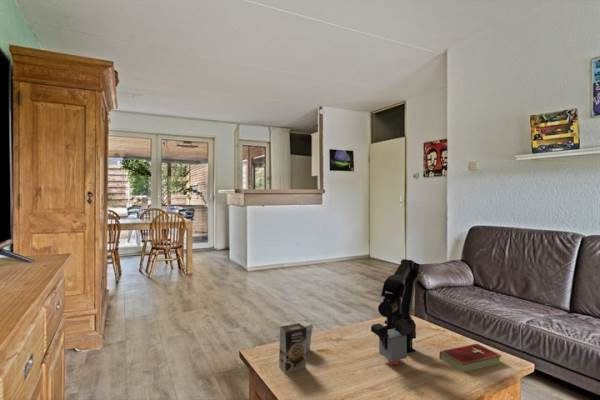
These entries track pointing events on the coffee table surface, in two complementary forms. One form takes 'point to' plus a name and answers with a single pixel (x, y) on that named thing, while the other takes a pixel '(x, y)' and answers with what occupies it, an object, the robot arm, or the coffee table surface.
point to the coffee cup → (309, 332)
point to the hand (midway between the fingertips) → (393, 347)
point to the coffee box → (292, 347)
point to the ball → (394, 362)
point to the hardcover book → (470, 357)
